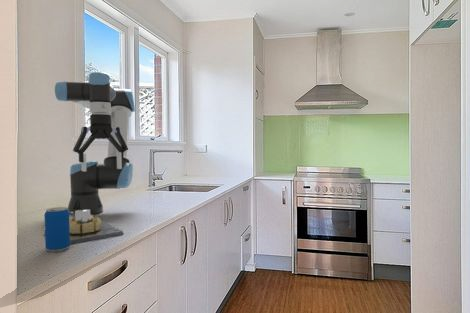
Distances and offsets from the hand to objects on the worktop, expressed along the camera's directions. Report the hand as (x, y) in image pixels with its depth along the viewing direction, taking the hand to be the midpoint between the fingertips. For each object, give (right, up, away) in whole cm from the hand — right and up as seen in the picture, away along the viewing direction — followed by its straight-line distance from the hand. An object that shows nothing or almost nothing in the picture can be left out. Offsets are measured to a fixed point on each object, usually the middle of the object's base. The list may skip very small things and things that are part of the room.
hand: (102, 170), depth 134 cm
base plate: (-1, -22, -13) cm, 25 cm away
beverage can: (-1, -22, -31) cm, 38 cm away
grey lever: (-5, -20, -9) cm, 22 cm away
